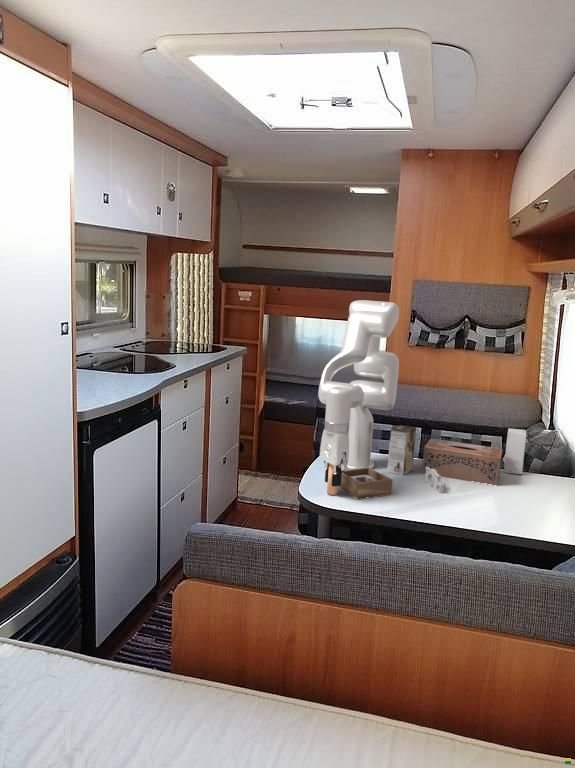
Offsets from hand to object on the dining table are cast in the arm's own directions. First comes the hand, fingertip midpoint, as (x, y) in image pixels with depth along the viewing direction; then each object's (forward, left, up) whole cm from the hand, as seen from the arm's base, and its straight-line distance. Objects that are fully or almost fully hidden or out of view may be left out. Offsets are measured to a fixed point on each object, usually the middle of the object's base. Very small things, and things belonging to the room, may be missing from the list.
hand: (332, 483), depth 193 cm
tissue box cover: (-2, +57, -4) cm, 57 cm away
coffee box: (-12, +37, -4) cm, 39 cm away
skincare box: (+2, +79, -4) cm, 79 cm away
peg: (0, 0, -3) cm, 3 cm away
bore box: (0, +12, -4) cm, 12 cm away
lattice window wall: (+6, +37, -4) cm, 37 cm away
